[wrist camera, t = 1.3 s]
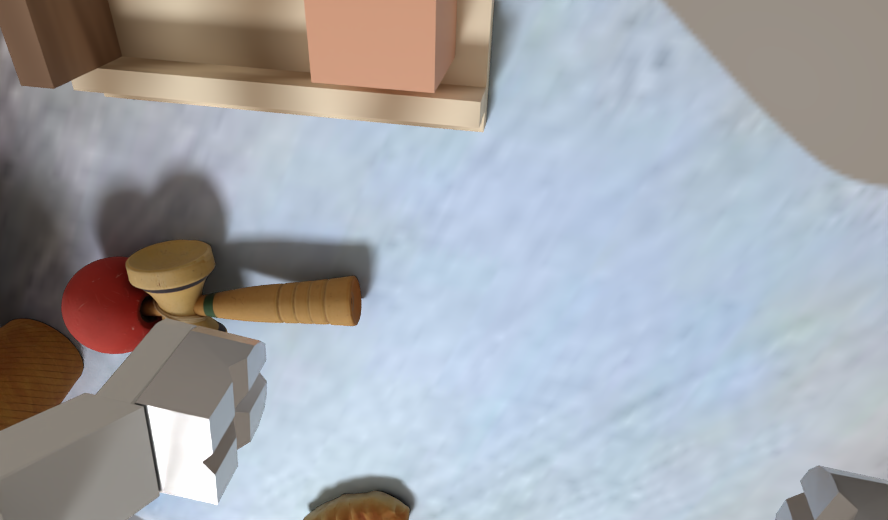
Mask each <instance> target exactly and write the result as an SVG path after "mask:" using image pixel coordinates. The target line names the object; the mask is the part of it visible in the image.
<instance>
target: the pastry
mask: <svg viewBox="0 0 888 520" xmlns="http://www.w3.org/2000/svg"><path fill="white" fill-rule="evenodd" d="M409 512H410V509H409V507H408V506H406V505H404V504H403V503H402V502H401V501H399V500H398V499H396V498H394V497H392V496H390V495H388V494H386V493H384V492H381V491H376V490H375V491H371V492H368V493H356V494H343V495H341V496H340V497H339V498H336V499H334V500H332V501H329V502H326V503H324V504H322V505H320V506H319V507H317V508H316V509H315V510H313V511H312V512H310V513H309V514H308V515H307V516H306V517H305V518H304V519H303V520H409Z"/></svg>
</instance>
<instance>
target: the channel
mask: <svg viewBox="0 0 888 520" xmlns="http://www.w3.org/2000/svg"><path fill="white" fill-rule="evenodd" d="M493 11H494V0H457V21H456V48H455V58H454V60H453V62H452V63H451V65H450V67H449V69H448V70H447V72H446V74H445V75H444V77H443V79H442V81H441V82H440V84H439V86H438V88H437V89H436V91H435V93H427V92H416V91H405V90H393V89H382V88H370V87H359V86H347V85H336V84H324V83H313V82H311V72H310V61H309V50H308V39H307V28H306V18H305V7H304V0H0V27H1V30H2V33H3V36H4V38H5V41H6V44H7V47H8V50H9V53H10V55H11V58H12V61H13V64H14V67H15V70H16V72H17V75H18V78H19V81H20V84H21V86H31V87H41V88H52V89H54V88H56V87H59V86H61V85H63V84H65V83H67V82H69V81H72V84H73V88H74V90H78V91H88V92H99V93H104V94H105V96H106V97H116V98H127V99H137V100H148V101H158V102H169V103H180V104H190V105H201V106H211V107H222V108H232V109H243V110H254V111H264V112H275V113H285V114H296V115H306V116H317V117H328V118H338V119H349V120H359V121H370V122H380V123H391V124H402V125H412V126H423V127H433V128H444V129H454V130H465V131H476V132H484V129H485V126H486V115H487V101H488V86H489V71H490V56H491V41H492V26H493Z"/></svg>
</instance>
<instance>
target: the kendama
mask: <svg viewBox="0 0 888 520" xmlns="http://www.w3.org/2000/svg"><path fill="white" fill-rule="evenodd" d="M214 267H215V261H214V257H213V253H212V250H211V247H210V245H209V244H207V243H205V242H202V241H197V240H171V241H166V242H161V243H157V244H153V245H150V246H148V247H145V248H143V249H141V250H139V251H137V252H135V253H134V254H133V255H131V256H130V257H129V258H128V257H109V258H104V259H100V260H97V261H94V262H92V263H90V264H88V265H86V266H85V267H83V268H82V269H81V270H79V271H78V272H77V273H76V274H75V275H74V276H73V277H72V278H71V280H70V281H69V283H68V284H67V286H66V288H65V290H64V293H63V297H62V305H61V310H62V316H63V320H64V322H65V325H66V327H67V329H68V330H69V332H70V333H71V334H72V335H73V337H74V338H75V339H76V340H78V341H79V342H80V343H81V344H83V345H85V346H86V347H88V348H90V349H93V350H95V351H98V352H101V353H109V354H120V353H127V352H131V351H133V350H134V349H135V348H136V347H137V345H138V344H139V343H140V342H141V341H142V340H143V338H144V337H145V336H146V335H147V334H148V333H149V331H150V330H151V329H152V328H153V327H154V326H155V324H157V323H158V322H160V321H162V320H164V319H166V318H168V319H172V320H176V321H180V322H184V323H188V324H192V325H196V326H203V327H207V328H211V329H215V330H219V331H223V332H227V329H226V328H225V326H224V325H223V324H221V323H219V322H217V321H216V320H215V319H213V318H211V317H216V318H224V319H232V320H242V321H253V322H272V323H283V322H285V323H304V324H314V323H315V324H331V325H343V326H356V325H357V324H358V322H359V319H360V316H361V291H360V285H359V281H358V279H357V278H356V277H355V276H347V277H340V278H332V279H329V280H328V279H323V280H315V281H304V282H300V283H299V282H293V283H285V284H270V285H261V286H253V287H246V288H240V289H234V290H228V291H222V292H217V293H212V294H205V295H202V290H203V285H204V282H205V280H206V278H207V277H208V275H209V274H210V272H211V271H212V270H213V269H214Z"/></svg>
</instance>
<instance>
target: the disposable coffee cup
mask: <svg viewBox="0 0 888 520" xmlns="http://www.w3.org/2000/svg"><path fill="white" fill-rule="evenodd" d="M82 371H83V362H82V358H81V356H80V354H79V352H78V351H77V349H76V348H75V346H74V345H73V344H72V343H71V342H70V341H69V340H68V339H67V338H66V337H65V336H64V335H63V334H61V333H60V332H58V331H57V330H55V329H54V328H52V327H50V326H48V325H46V324H44V323H41V322H39V321H35V320H31V319H15V320H12V321H10V322H9V323H7V324H6V325H4V326H3V327H1V328H0V431H1V430H3V429H6V428H8V427H10V426H12V425H14V424H17V423H19V422H21V421H23V420H26V419H28V418H30V417H32V416H35V415H37V414H39V413H41V412H44V411H46V410H48V409H50V408H52V407H55V406H57V405H59V404H61V402H62V401H63V399H64V398H65V397H66V395H67V394H68V392H69V391H70V389H71V388H72V387H73V385H74V384H75V383H76V381H77V380H78V378H79V377H80V376H81V374H82Z"/></svg>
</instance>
